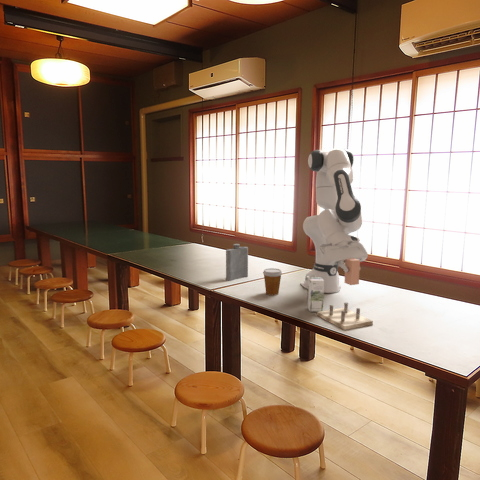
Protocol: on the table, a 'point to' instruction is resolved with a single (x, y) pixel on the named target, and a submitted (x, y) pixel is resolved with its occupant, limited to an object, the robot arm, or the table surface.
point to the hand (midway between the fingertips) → (353, 270)
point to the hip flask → (236, 262)
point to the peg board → (345, 317)
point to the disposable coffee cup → (272, 280)
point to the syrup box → (315, 294)
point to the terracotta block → (352, 271)
